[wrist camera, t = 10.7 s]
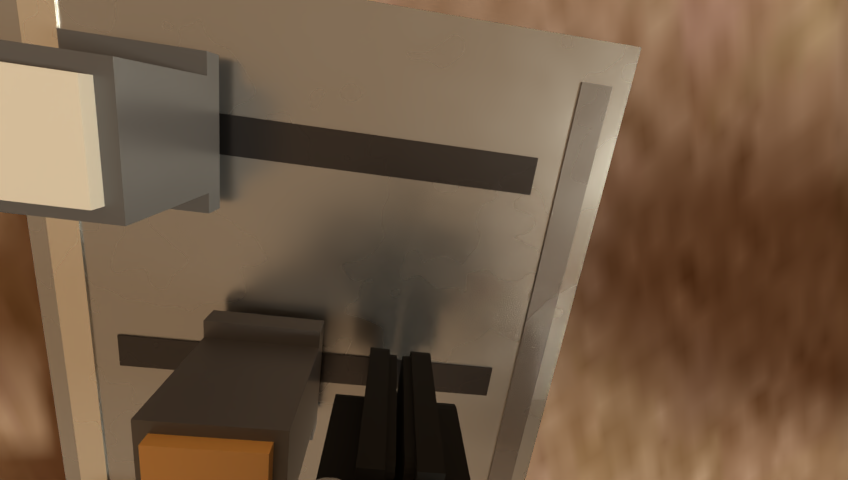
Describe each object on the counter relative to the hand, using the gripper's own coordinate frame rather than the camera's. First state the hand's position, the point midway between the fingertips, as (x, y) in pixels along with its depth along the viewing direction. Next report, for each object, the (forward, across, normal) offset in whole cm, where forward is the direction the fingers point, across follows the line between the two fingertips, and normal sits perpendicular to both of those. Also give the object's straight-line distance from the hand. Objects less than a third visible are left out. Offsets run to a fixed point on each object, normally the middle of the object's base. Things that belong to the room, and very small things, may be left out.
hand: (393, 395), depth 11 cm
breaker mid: (+1, +4, 0) cm, 4 cm away
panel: (+3, +2, 0) cm, 4 cm away
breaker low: (+1, +6, -6) cm, 9 cm away
